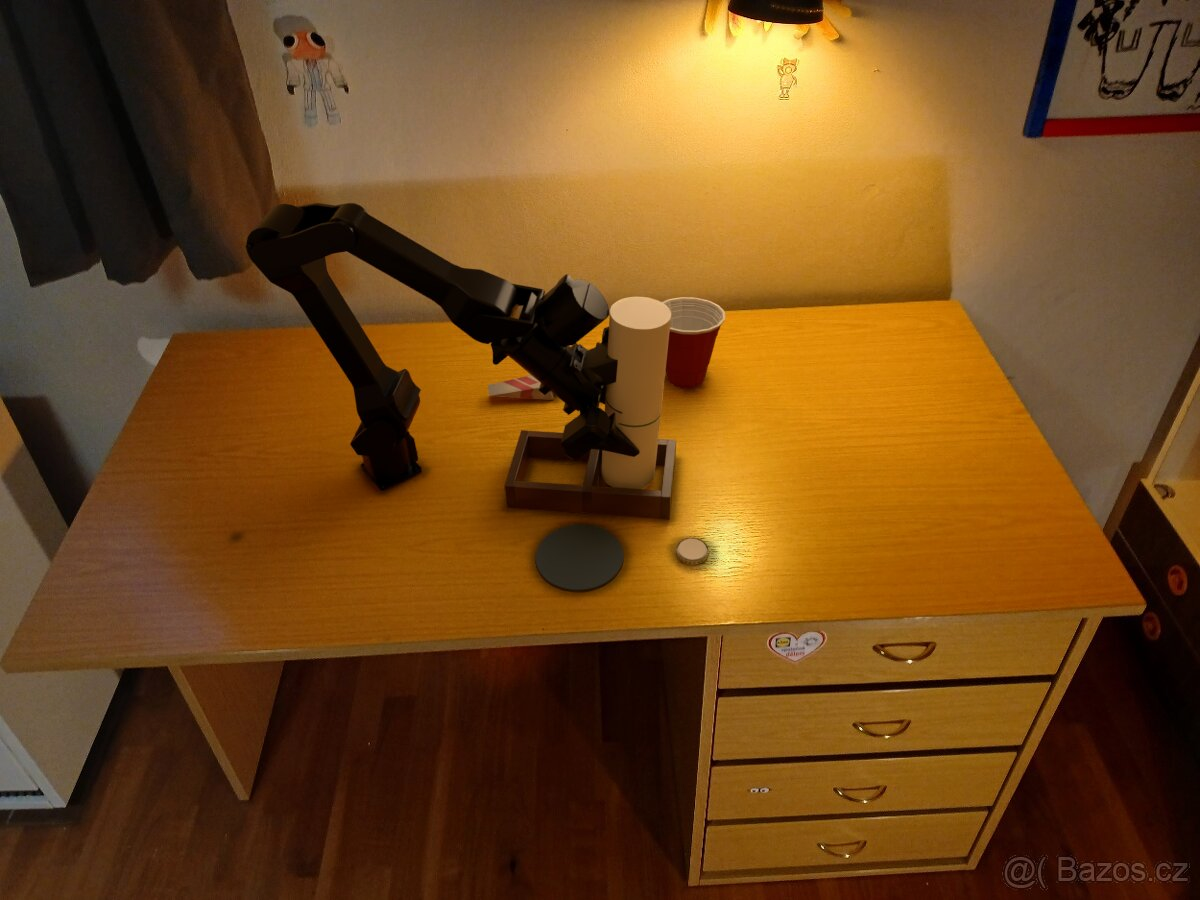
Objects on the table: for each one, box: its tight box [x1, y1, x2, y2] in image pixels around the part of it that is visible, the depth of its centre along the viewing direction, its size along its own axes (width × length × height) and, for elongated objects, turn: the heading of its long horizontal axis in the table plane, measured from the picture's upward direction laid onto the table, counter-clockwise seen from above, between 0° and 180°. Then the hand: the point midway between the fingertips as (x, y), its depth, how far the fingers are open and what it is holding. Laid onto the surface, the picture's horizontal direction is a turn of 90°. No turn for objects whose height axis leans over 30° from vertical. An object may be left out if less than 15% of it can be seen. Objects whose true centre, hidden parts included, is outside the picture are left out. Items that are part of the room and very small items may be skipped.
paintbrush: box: [487, 374, 555, 401], centre depth 139 cm, size 4×3×20 cm
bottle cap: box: [675, 537, 709, 565], centre depth 114 cm, size 4×4×1 cm
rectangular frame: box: [504, 429, 677, 520], centre depth 123 cm, size 22×11×4 cm, turn 83°
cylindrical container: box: [600, 296, 671, 489], centre depth 114 cm, size 7×7×25 cm
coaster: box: [535, 523, 625, 593], centre depth 114 cm, size 11×11×1 cm
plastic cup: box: [661, 296, 726, 390], centre depth 138 cm, size 11×11×12 cm
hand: (639, 436), depth 117 cm, fingers closed on cylindrical container, 7 cm apart
